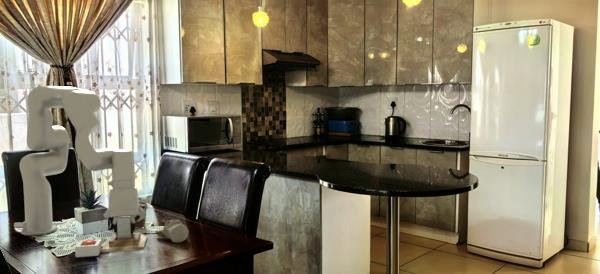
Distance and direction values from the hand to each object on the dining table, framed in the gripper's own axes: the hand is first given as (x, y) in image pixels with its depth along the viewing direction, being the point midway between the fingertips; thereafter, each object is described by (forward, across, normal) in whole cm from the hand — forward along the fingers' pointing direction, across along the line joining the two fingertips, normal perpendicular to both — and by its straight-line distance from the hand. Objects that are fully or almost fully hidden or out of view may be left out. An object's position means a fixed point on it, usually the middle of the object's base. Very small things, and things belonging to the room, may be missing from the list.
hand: (124, 233), depth 170 cm
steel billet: (+2, 0, 0) cm, 2 cm away
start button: (+2, -11, -7) cm, 13 cm away
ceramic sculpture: (+5, +17, +3) cm, 18 cm away
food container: (+5, +1, +27) cm, 27 cm away
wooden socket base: (+4, 0, 0) cm, 4 cm away
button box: (+4, -11, -7) cm, 14 cm away
